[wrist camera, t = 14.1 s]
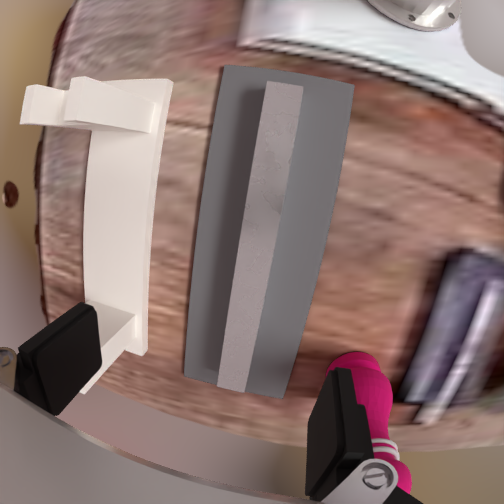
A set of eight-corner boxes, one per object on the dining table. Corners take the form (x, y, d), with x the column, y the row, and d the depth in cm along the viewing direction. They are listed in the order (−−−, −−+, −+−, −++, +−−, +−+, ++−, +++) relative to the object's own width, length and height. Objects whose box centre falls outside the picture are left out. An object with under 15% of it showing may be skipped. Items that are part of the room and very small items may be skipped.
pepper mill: (309, 385, 32) (306, 543, 13) (342, 338, 30) (373, 507, 11) (359, 402, 32) (381, 546, 13) (394, 359, 30) (448, 507, 11)
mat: (225, 66, 25) (224, 64, 24) (353, 86, 24) (354, 84, 23) (185, 373, 34) (183, 376, 34) (282, 396, 33) (282, 398, 33)
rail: (269, 88, 25) (267, 80, 22) (302, 93, 24) (303, 86, 22) (221, 373, 33) (216, 386, 30) (247, 379, 33) (244, 392, 30)
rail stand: (108, 84, 27) (28, 58, 15) (173, 82, 26) (103, 40, 14) (94, 331, 35) (35, 383, 23) (147, 349, 34) (95, 415, 22)
